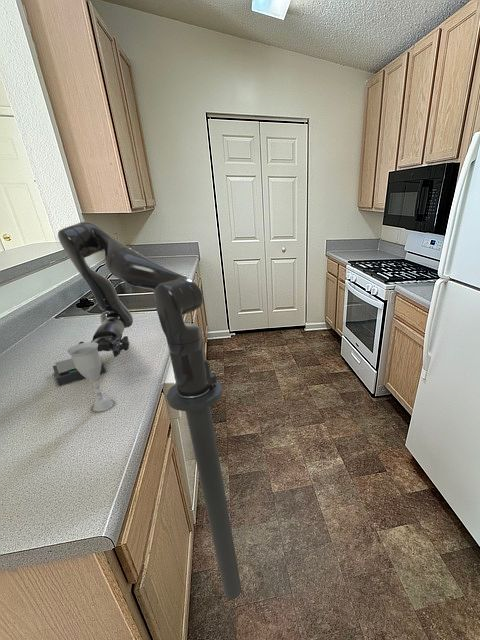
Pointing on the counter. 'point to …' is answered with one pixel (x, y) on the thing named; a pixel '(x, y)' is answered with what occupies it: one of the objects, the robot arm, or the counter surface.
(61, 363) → the pan
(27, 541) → the counter surface
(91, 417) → the counter surface
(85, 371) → the chalice
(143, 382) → the counter surface
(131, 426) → the counter surface
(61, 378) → the scale
